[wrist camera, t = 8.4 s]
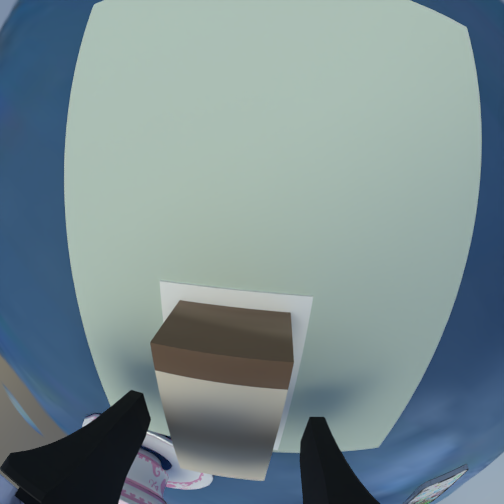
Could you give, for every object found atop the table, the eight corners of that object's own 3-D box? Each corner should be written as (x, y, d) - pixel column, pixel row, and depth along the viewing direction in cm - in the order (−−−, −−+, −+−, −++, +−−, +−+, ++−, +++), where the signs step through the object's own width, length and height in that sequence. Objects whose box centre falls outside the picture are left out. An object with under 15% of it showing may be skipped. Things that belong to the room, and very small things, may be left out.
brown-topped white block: (266, 439, 13) (263, 480, 10) (192, 429, 13) (180, 468, 10) (290, 312, 10) (294, 362, 7) (179, 300, 11) (149, 342, 8)
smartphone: (391, 516, 20) (422, 488, 16) (390, 511, 21) (420, 481, 17) (431, 502, 19) (471, 466, 15) (430, 497, 21) (469, 460, 16)
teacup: (62, 400, 16) (27, 446, 10) (184, 423, 14) (157, 501, 8) (124, 471, 19) (106, 511, 13) (229, 490, 17) (220, 541, 12)
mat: (462, 29, 6) (467, 26, 5) (377, 443, 13) (378, 448, 13) (97, 7, 7) (92, 3, 7) (119, 416, 15) (116, 421, 14)
